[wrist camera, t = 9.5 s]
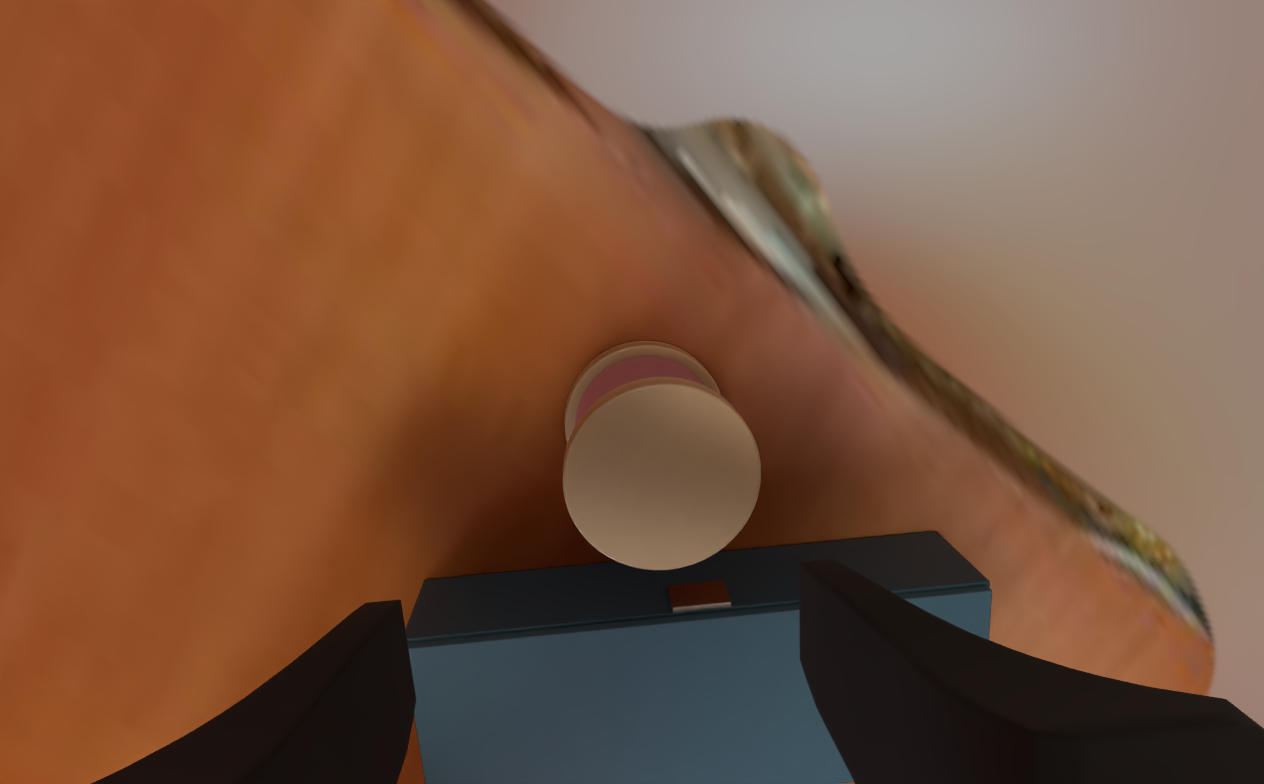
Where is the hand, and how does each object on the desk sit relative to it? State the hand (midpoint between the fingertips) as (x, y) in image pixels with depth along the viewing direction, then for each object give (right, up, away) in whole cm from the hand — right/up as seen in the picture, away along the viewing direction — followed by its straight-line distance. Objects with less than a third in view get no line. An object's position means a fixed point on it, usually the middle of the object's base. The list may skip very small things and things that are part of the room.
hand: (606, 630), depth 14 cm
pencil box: (+2, -4, +11) cm, 12 cm away
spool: (+1, +3, +9) cm, 9 cm away
